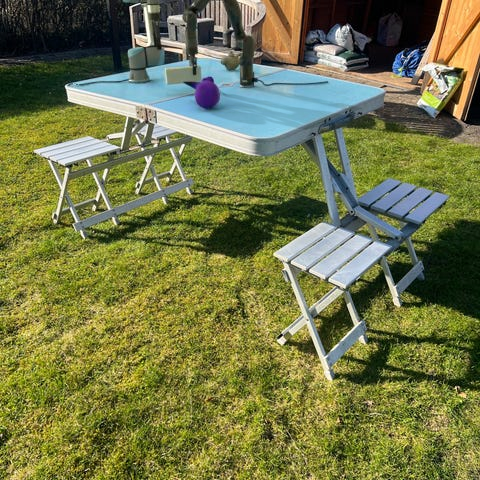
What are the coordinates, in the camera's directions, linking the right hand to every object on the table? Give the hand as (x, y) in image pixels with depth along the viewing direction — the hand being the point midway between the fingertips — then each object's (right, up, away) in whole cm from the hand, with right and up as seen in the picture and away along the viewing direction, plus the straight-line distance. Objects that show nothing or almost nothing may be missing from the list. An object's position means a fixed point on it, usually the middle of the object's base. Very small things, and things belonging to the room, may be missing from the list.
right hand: (193, 73), depth 293 cm
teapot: (+24, +32, +78) cm, 88 cm away
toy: (+9, -28, -24) cm, 38 cm away
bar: (-7, -5, +1) cm, 9 cm away
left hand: (-24, +18, +3) cm, 30 cm away
